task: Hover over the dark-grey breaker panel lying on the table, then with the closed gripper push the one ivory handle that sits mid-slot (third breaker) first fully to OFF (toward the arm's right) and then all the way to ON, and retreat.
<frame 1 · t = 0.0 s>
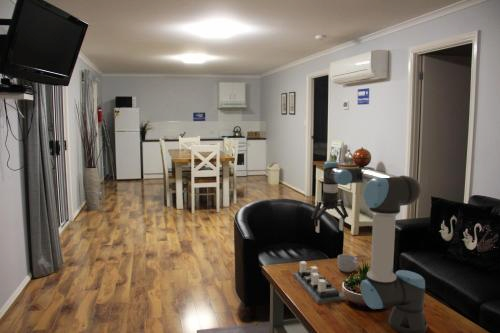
hand: (329, 231, 210), 28 cm above the table, fingers open, 13 cm apart
teacup: (348, 271, 228), on the table
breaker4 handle: (303, 266, 217), point 7 cm above the table, slide at 3.0 cm
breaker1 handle: (321, 285, 194), point 7 cm above the table, slide at 3.0 cm
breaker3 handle: (314, 271, 210), point 7 cm above the table, slide at 0.0 cm
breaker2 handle: (315, 278, 201), point 7 cm above the table, slide at 3.0 cm
panel: (317, 287, 207), on the table
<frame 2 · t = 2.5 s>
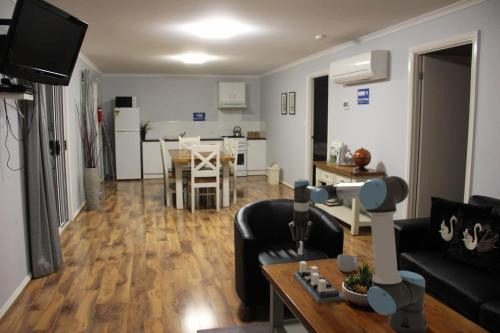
hand: (300, 253, 206), 17 cm above the table, fingers closed
nothing on the table moved.
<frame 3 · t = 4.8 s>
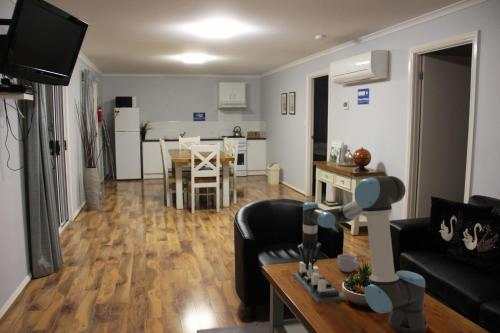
hand: (309, 275, 209), 5 cm above the table, fingers closed
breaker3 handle: (315, 271, 210), point 7 cm above the table, slide at -0.5 cm, touching gripper
everything else where it was.
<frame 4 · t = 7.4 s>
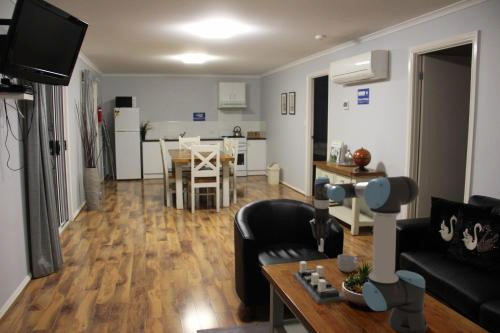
hand: (320, 251, 209), 18 cm above the table, fingers closed
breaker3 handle: (319, 271, 211), point 7 cm above the table, slide at -3.1 cm
everything else where it was.
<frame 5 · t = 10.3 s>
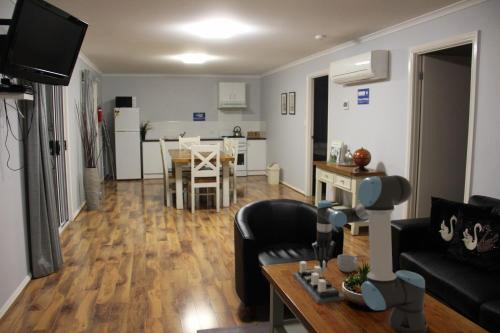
hand: (323, 273, 211), 5 cm above the table, fingers closed
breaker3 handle: (317, 271, 210), point 7 cm above the table, slide at -1.8 cm, touching gripper
everything else where it was.
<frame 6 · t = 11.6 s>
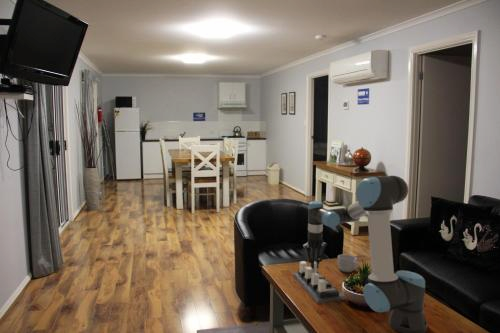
hand: (314, 274, 210), 5 cm above the table, fingers closed
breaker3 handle: (308, 272, 209), point 7 cm above the table, slide at 3.1 cm, touching gripper
everything else where it was.
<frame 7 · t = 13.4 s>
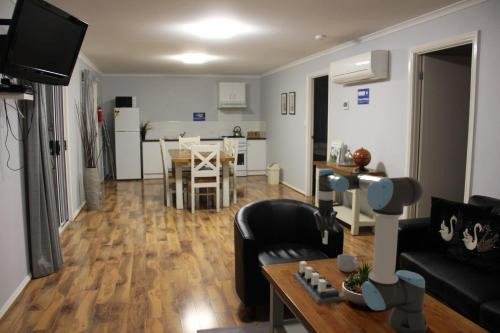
hand: (325, 243, 207), 23 cm above the table, fingers closed
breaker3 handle: (308, 272, 209), point 7 cm above the table, slide at 3.1 cm
everything else where it was.
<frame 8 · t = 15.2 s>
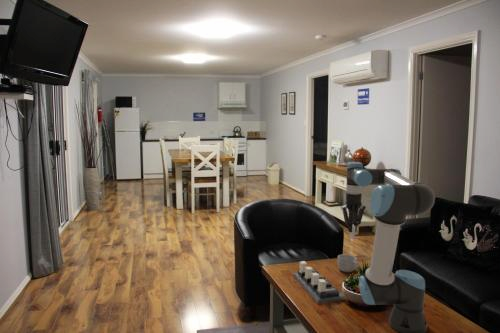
hand: (352, 238, 204), 26 cm above the table, fingers closed
nothing on the table moved.
at the end: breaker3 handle slide at 3.1 cm; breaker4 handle slide at 3.0 cm; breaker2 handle slide at 3.0 cm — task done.
